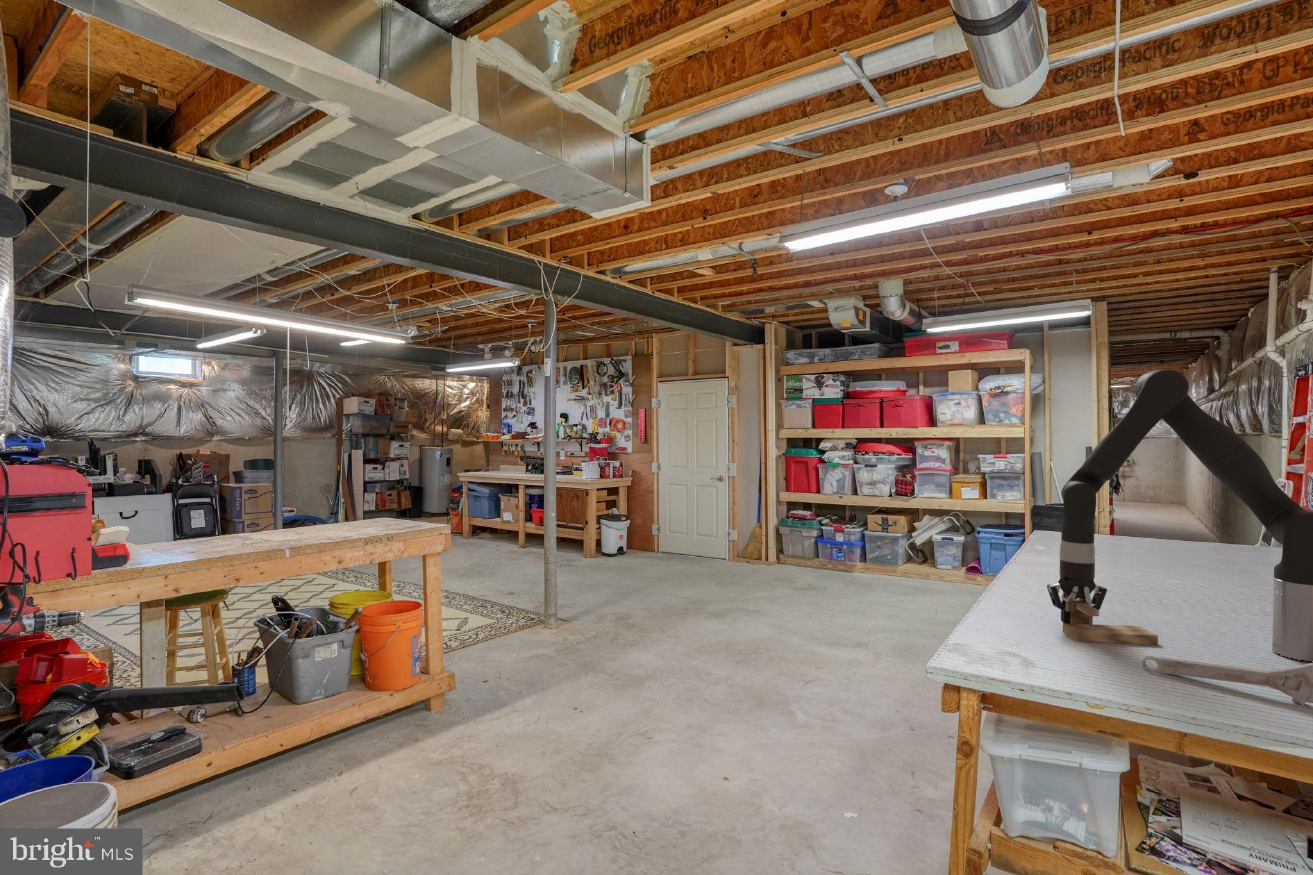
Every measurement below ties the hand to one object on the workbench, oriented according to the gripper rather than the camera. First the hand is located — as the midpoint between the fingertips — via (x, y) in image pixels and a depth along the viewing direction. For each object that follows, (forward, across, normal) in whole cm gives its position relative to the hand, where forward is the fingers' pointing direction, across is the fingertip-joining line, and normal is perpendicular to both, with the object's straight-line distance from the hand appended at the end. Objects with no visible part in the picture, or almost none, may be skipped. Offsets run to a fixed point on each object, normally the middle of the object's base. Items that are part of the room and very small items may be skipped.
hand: (1075, 624), depth 161 cm
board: (+1, +4, -6) cm, 8 cm away
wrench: (+2, +11, -35) cm, 37 cm away
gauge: (+1, 0, -3) cm, 3 cm away
